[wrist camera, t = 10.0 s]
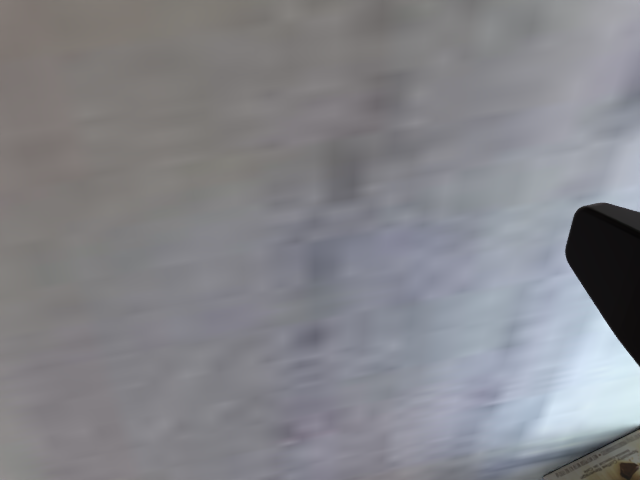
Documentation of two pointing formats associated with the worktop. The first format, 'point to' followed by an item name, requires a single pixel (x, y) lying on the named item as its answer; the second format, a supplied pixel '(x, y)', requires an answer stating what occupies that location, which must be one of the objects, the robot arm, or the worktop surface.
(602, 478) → the coffee box
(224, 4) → the worktop surface
